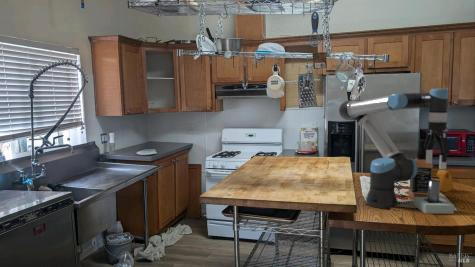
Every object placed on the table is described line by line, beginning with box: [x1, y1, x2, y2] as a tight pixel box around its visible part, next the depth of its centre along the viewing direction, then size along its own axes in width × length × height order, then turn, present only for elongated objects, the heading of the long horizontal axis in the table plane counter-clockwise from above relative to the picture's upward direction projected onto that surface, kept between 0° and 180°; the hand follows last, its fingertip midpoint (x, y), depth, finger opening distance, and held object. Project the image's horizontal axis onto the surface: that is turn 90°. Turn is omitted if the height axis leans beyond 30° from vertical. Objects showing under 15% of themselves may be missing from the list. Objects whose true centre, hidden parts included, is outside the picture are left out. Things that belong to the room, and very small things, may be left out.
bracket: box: [436, 169, 454, 193], centre depth 210 cm, size 11×7×12 cm, turn 113°
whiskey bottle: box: [408, 139, 434, 199], centre depth 194 cm, size 10×10×32 cm
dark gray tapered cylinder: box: [427, 178, 441, 203], centre depth 174 cm, size 5×5×14 cm
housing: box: [412, 196, 455, 215], centre depth 175 cm, size 13×13×5 cm
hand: (435, 165), depth 172 cm, fingers open, 13 cm apart
